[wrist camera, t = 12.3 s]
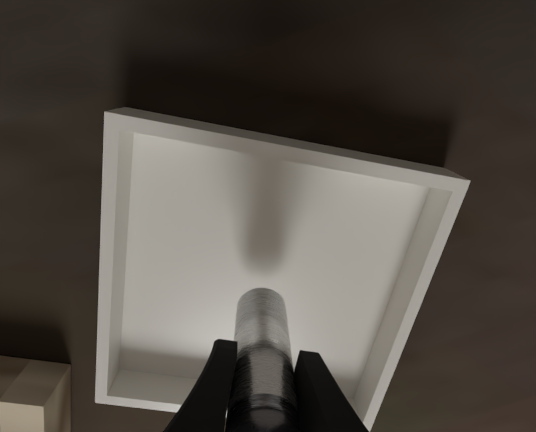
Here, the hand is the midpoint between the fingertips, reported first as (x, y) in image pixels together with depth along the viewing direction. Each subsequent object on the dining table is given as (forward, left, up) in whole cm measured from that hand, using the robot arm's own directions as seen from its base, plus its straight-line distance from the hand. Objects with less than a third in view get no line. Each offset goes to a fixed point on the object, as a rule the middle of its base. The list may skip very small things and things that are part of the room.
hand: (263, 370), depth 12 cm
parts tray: (0, 0, -6) cm, 6 cm away
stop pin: (0, 0, -3) cm, 4 cm away
